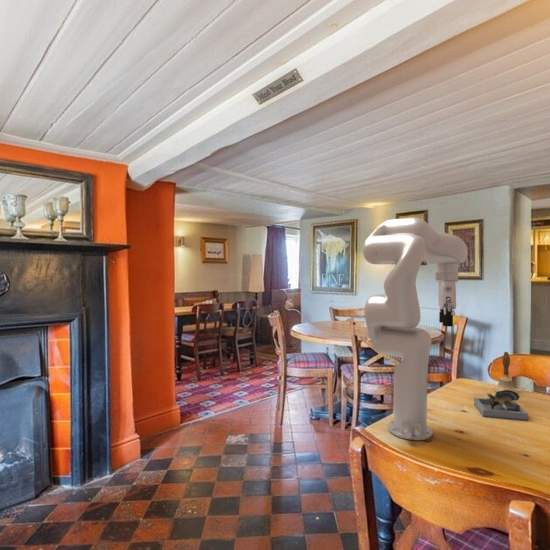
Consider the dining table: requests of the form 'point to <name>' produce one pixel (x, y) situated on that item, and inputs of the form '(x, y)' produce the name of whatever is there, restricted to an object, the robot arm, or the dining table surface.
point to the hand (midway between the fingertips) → (445, 324)
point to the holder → (500, 410)
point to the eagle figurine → (503, 398)
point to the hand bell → (505, 376)
